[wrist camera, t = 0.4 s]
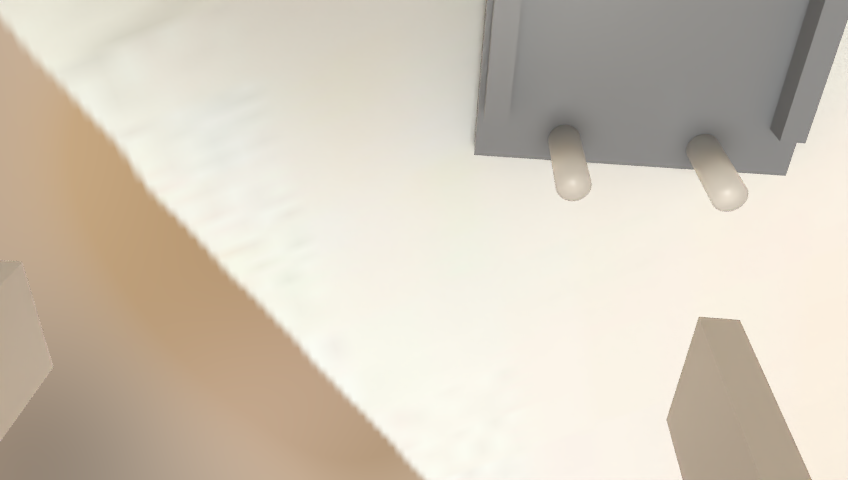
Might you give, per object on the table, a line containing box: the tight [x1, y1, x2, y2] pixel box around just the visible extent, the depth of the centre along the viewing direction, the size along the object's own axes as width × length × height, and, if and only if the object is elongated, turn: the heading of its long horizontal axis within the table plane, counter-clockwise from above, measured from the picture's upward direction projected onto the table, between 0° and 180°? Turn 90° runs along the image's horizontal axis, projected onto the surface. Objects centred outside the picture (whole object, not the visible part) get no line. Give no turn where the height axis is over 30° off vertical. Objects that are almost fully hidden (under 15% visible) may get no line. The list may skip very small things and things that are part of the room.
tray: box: [474, 0, 848, 212], centre depth 33 cm, size 17×16×6 cm
